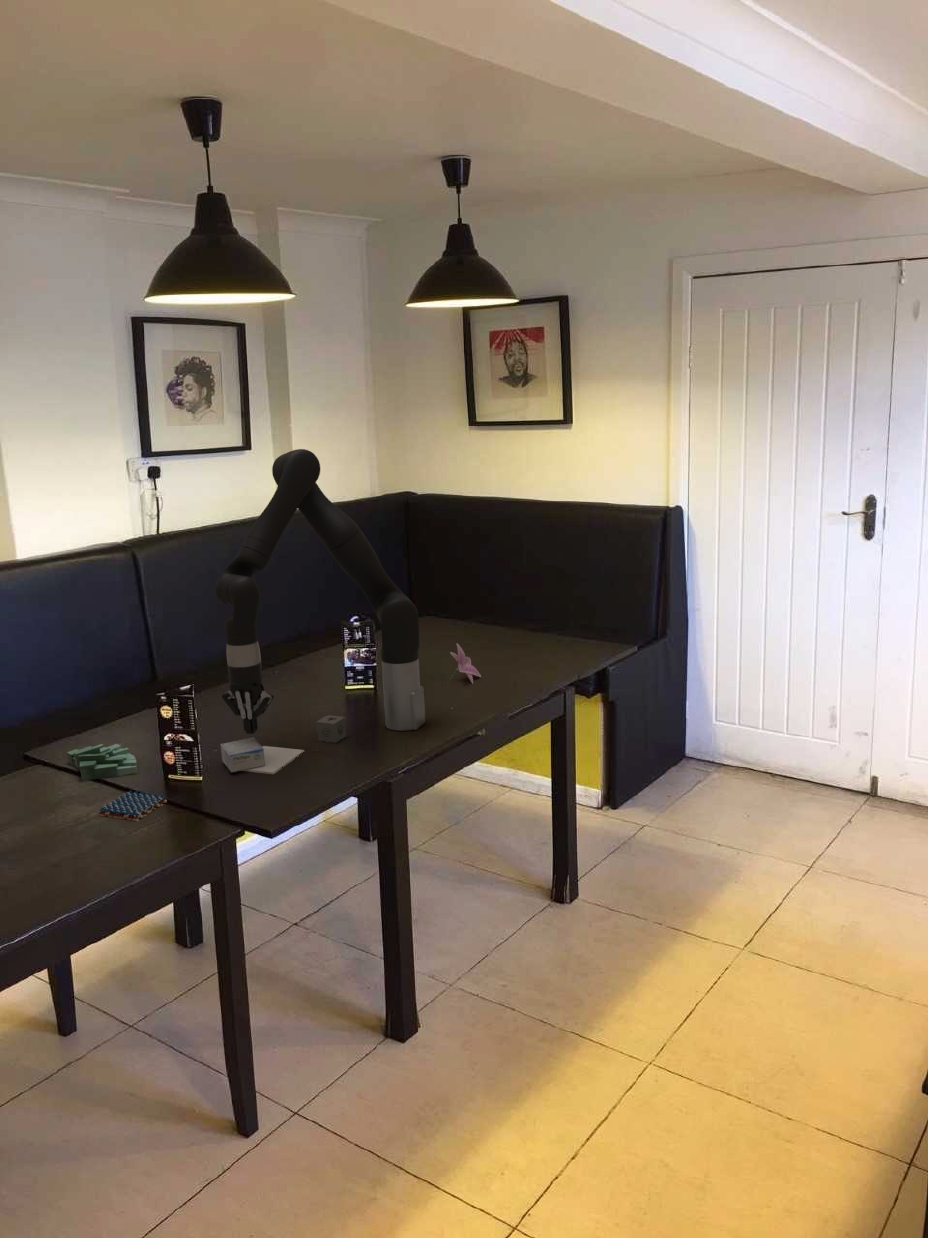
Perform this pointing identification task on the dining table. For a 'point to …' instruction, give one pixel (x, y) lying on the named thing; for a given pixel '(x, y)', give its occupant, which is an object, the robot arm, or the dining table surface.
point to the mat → (276, 759)
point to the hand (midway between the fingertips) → (251, 732)
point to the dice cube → (331, 728)
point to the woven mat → (132, 805)
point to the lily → (464, 664)
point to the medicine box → (242, 754)
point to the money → (103, 761)
